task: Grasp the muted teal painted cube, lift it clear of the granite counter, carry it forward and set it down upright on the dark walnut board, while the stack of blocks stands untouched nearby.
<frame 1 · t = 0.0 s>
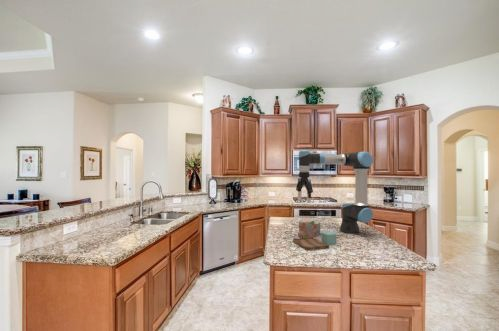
hand: (304, 201, 184), 28 cm above the counter, fingers open, 13 cm apart
cube: (328, 243, 177), on the counter
stack of blocks: (309, 236, 196), on the counter
board: (310, 244, 173), on the counter
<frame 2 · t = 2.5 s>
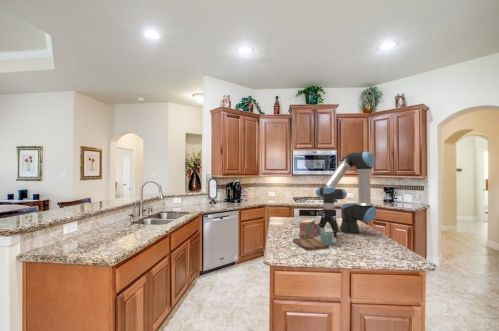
hand: (328, 239, 177), 3 cm above the counter, fingers open, 13 cm apart
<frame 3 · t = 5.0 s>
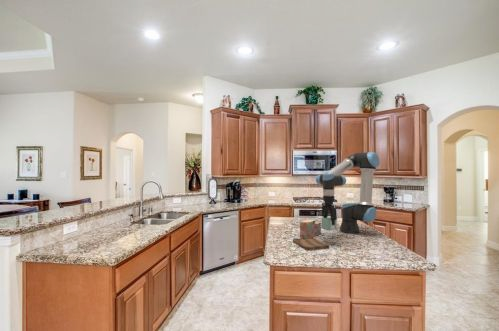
hand: (329, 228, 177), 10 cm above the counter, fingers closed on cube, 7 cm apart
cube: (329, 229, 177), point 10 cm above the counter, touching gripper
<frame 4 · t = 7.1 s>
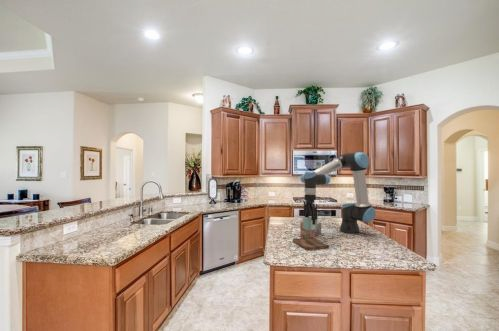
hand: (310, 228, 173), 11 cm above the counter, fingers closed on cube, 7 cm apart
cube: (309, 228, 173), point 11 cm above the counter, touching gripper
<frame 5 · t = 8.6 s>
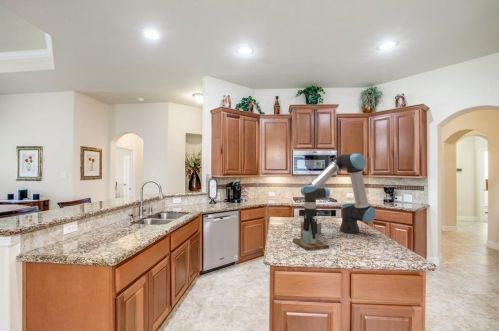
hand: (310, 241, 173), 2 cm above the counter, fingers closed on cube, 7 cm apart
cube: (310, 242, 173), point 2 cm above the counter, touching gripper
when the fingers open (2 cm above the counter, at t = 9.5 s): cube stays where it is, resting on board.
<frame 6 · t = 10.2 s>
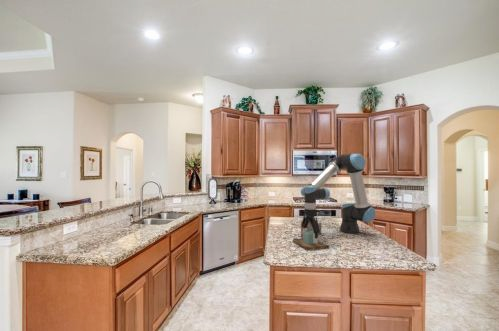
hand: (310, 240, 173), 3 cm above the counter, fingers open, 13 cm apart
cube: (310, 242, 173), point 1 cm above the counter, touching board
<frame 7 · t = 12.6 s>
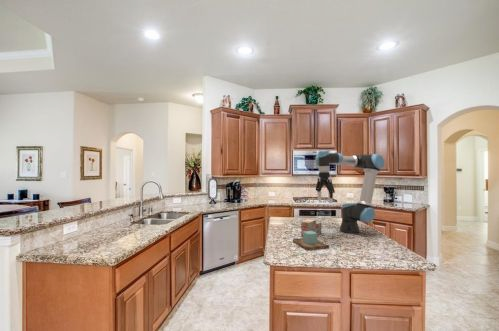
hand: (325, 201, 184), 28 cm above the counter, fingers open, 13 cm apart
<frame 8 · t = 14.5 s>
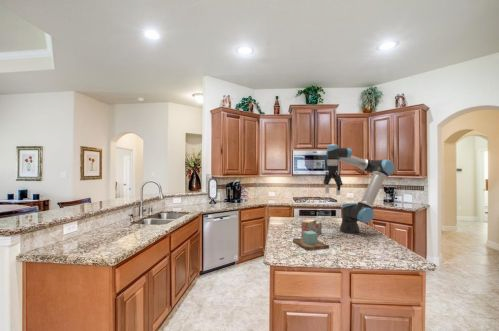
hand: (332, 194, 190), 33 cm above the counter, fingers open, 13 cm apart
at the end: cube inside the target area on the board (0.1 cm from its centre), point 1.5 cm above the board's base; cube touching board; cube tilted 0° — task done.
